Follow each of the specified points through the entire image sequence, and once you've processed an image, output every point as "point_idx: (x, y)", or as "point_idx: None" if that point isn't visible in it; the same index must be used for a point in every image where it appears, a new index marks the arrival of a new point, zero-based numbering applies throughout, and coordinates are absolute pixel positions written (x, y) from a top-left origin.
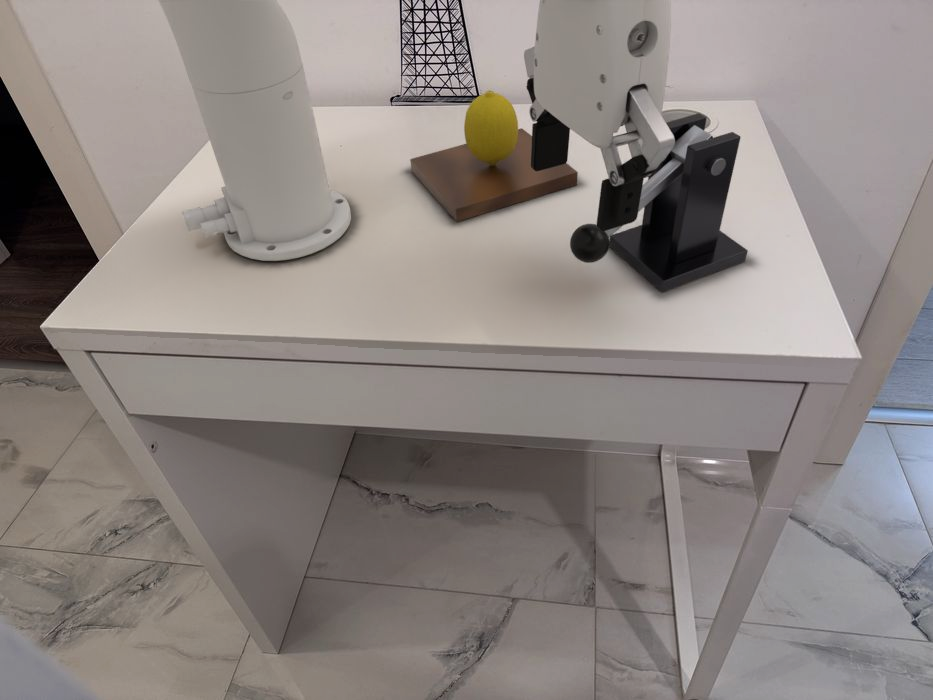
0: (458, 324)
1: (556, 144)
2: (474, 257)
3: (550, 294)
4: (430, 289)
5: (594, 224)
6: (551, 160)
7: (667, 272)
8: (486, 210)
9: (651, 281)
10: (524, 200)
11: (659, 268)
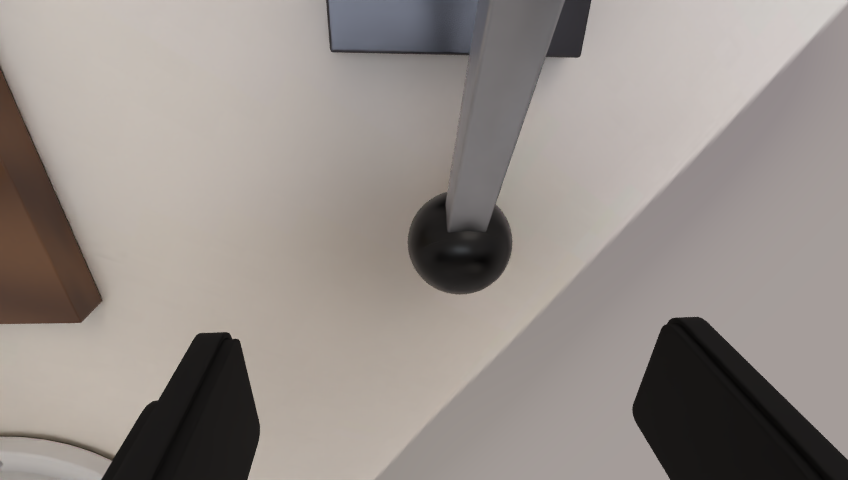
0: (418, 391)
1: (213, 461)
2: (251, 316)
3: None
4: (315, 396)
5: (457, 253)
6: (241, 412)
7: (561, 22)
8: (69, 238)
9: None
10: (25, 128)
11: None
